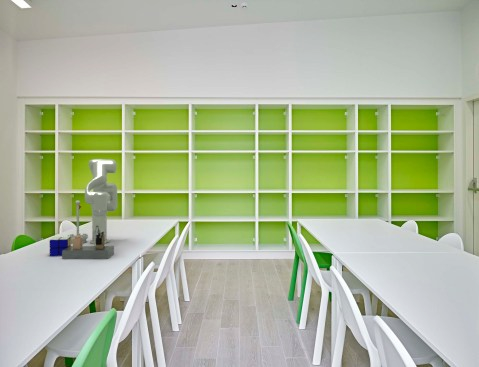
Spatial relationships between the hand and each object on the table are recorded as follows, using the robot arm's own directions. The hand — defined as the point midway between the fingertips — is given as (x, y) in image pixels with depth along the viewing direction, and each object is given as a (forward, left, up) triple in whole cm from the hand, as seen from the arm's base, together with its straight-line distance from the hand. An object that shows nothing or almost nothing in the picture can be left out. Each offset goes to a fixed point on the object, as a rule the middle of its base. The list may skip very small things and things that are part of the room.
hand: (100, 243), depth 211 cm
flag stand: (-41, -29, -8) cm, 51 cm away
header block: (0, -7, -8) cm, 10 cm away
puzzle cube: (-6, -26, -8) cm, 27 cm away
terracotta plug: (0, -13, -7) cm, 15 cm away
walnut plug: (0, 0, -5) cm, 5 cm away
